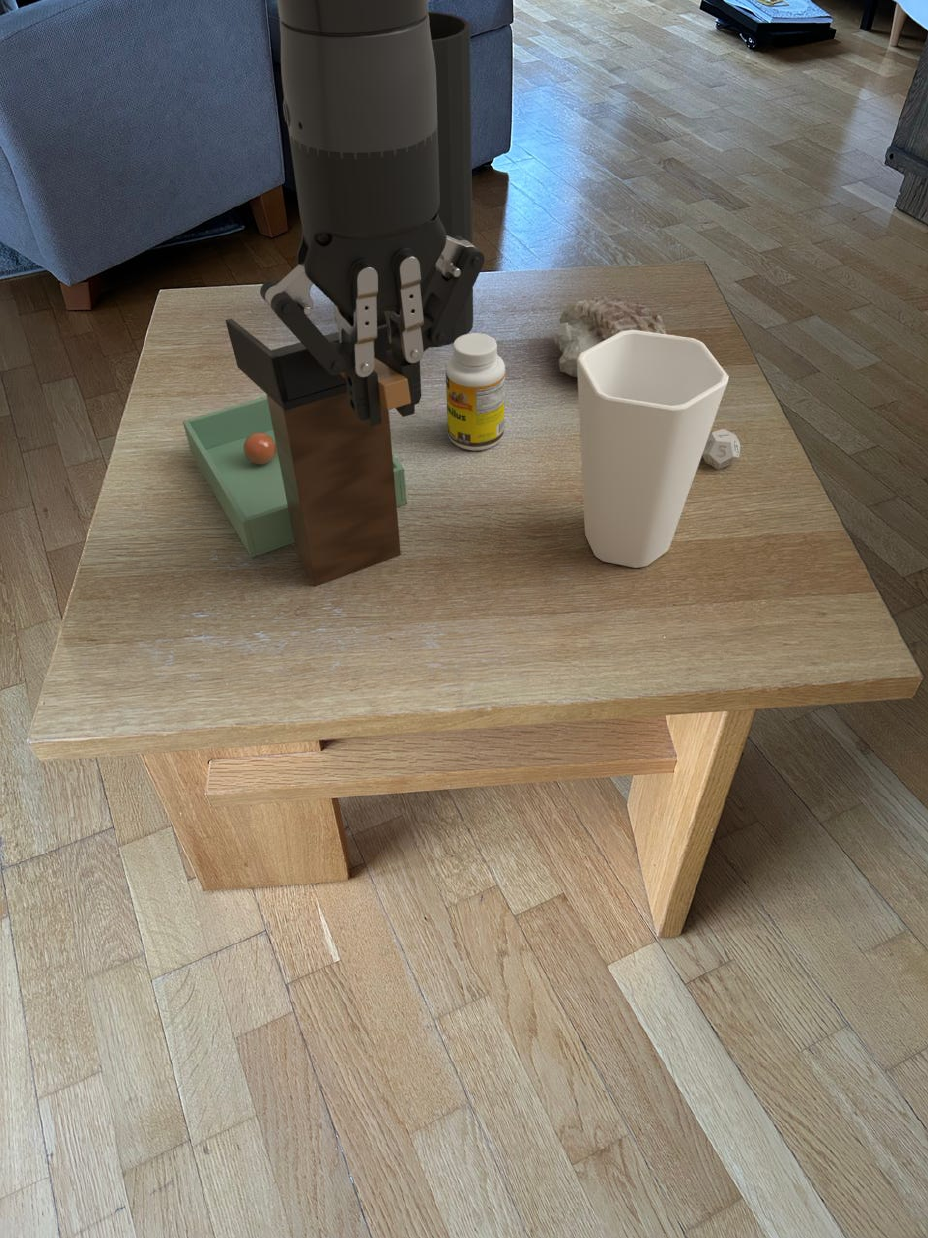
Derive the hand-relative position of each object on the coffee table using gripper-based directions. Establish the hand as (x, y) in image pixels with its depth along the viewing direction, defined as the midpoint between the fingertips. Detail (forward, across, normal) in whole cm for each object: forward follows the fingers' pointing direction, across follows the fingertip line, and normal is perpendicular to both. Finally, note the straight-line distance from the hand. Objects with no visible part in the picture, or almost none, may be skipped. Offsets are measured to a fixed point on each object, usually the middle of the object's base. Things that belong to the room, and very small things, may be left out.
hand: (386, 413), depth 60 cm
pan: (+2, 0, +7) cm, 7 cm away
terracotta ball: (+19, -2, +27) cm, 33 cm away
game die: (+21, +36, +6) cm, 42 cm away
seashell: (+21, +36, +26) cm, 49 cm away
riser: (+21, 0, +11) cm, 24 cm away
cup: (+21, +22, +2) cm, 31 cm away
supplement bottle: (+21, +18, +22) cm, 35 cm away
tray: (+21, 0, +24) cm, 32 cm away
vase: (+20, +24, +44) cm, 54 cm away
